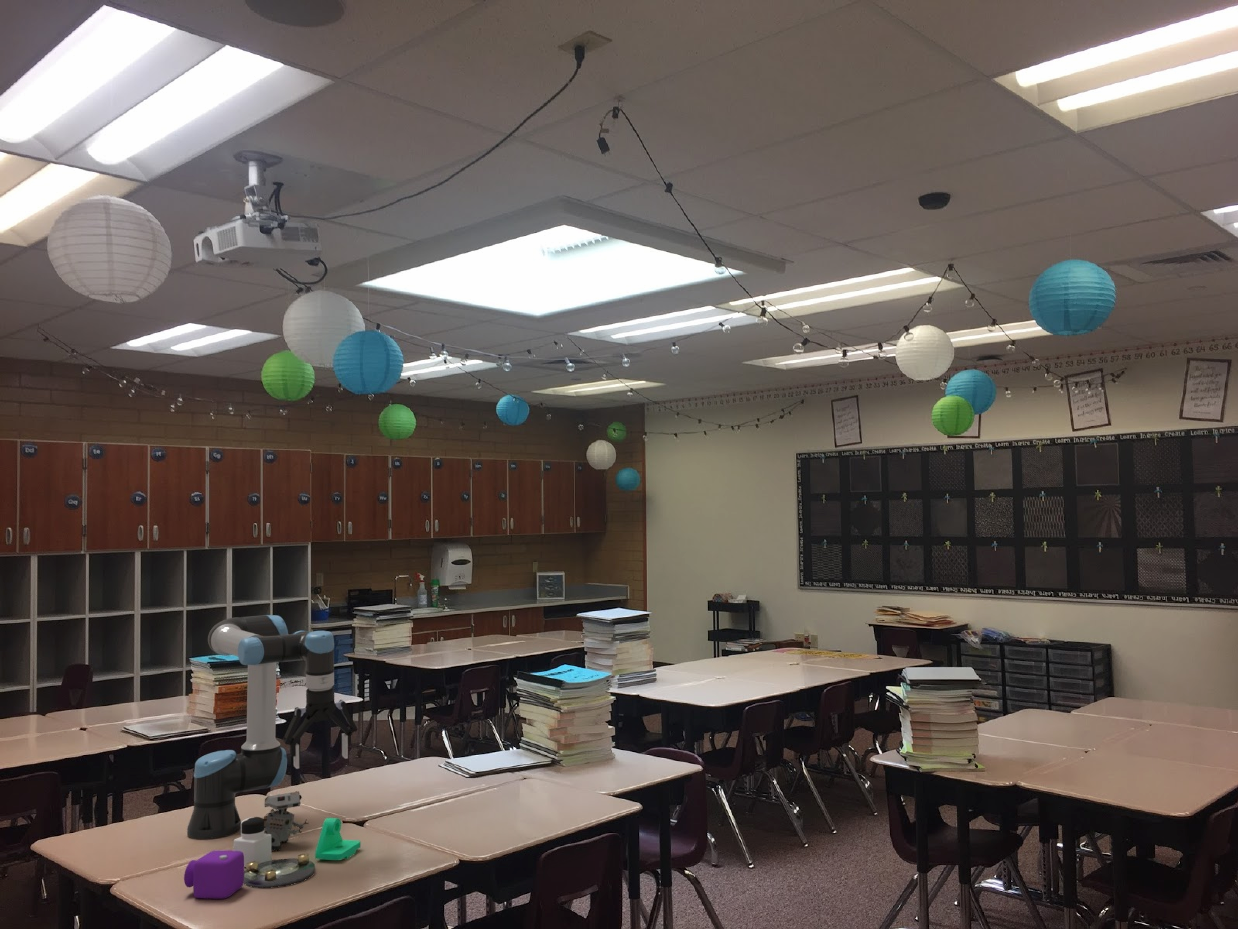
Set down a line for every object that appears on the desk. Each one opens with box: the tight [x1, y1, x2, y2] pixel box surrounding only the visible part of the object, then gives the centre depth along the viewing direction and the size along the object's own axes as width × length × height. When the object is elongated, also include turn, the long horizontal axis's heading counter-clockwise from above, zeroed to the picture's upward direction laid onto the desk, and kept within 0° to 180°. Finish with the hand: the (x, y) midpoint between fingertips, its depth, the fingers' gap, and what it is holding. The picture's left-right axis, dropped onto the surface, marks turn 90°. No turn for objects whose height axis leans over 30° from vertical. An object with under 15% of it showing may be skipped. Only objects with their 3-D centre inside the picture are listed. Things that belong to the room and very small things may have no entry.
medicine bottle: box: [232, 816, 272, 869], centre depth 262 cm, size 7×7×12 cm
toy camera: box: [183, 850, 245, 900], centre depth 240 cm, size 11×14×10 cm
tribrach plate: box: [243, 853, 316, 889], centre depth 251 cm, size 18×18×4 cm
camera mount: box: [314, 817, 361, 861], centre depth 267 cm, size 12×8×10 cm, turn 167°
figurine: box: [263, 790, 309, 852], centre depth 276 cm, size 9×12×15 cm
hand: (321, 762), depth 267 cm, fingers open, 13 cm apart
